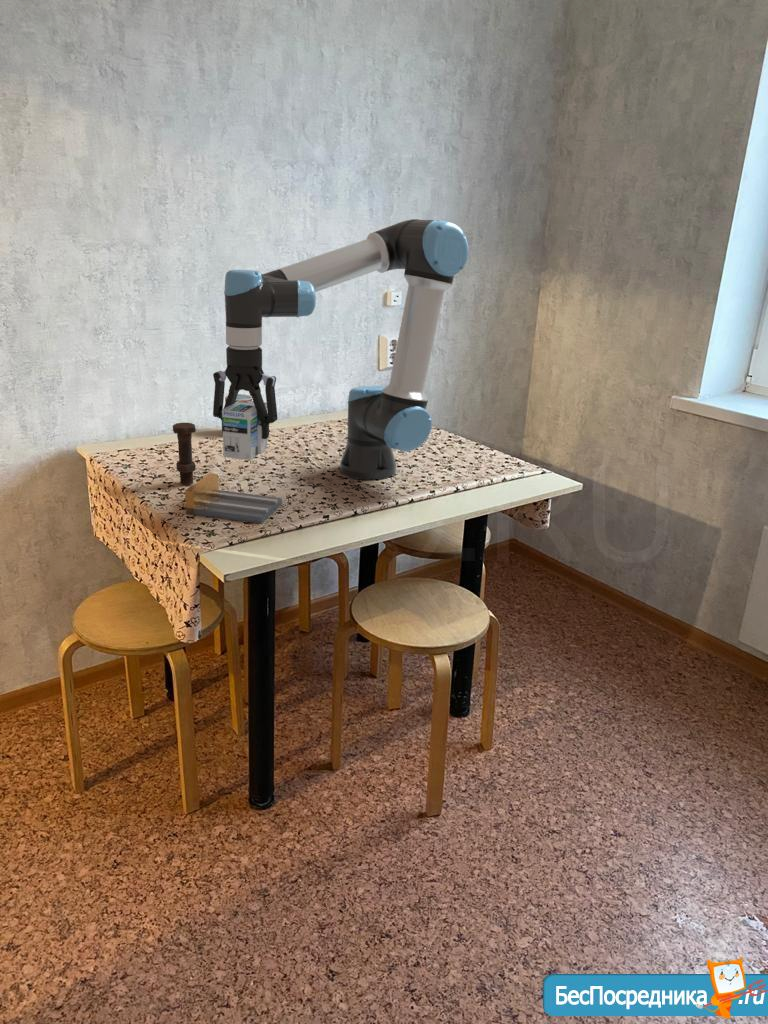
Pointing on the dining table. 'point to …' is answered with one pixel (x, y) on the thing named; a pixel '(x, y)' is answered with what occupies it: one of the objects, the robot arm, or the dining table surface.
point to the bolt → (185, 451)
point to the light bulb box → (241, 430)
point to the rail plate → (228, 502)
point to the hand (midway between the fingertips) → (245, 450)
